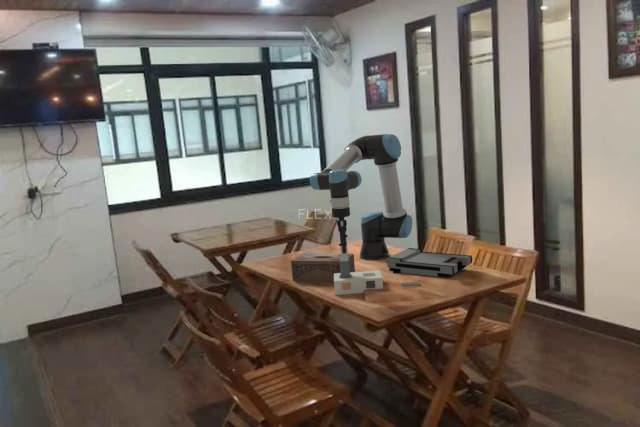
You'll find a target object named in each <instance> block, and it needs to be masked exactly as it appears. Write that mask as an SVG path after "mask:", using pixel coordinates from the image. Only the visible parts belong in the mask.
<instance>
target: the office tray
mask: <svg viewBox="0 0 640 427" xmlns="http://www.w3.org/2000/svg"><path fill="white" fill-rule="evenodd" d="M386 263H387V264H386V266H387V268H388V271H389V272H392V273H393V274H410V275H418V276H420V275H421V276H429V277H436V278H437V277H438V278H439V277H440V278H441V277H442V278H450V277H451V276H453V275H454V274H456V273H458V272H460V271H462V270H463V269H466V268H467V266H469V265H472V264H473V255H471V254H470V255H467V254H457V253H445V252H443V253H442V252H431V251H423V249H422V248H414V247H413V248H412V247H409V248H406V249H404V250H401V251H399V252H397V253H395V254H392V255H389V256H388V257H387V258H386Z"/></svg>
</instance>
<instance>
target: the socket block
mask: <svg viewBox="0 0 640 427" xmlns="http://www.w3.org/2000/svg"><path fill="white" fill-rule="evenodd" d="M383 282H384V281H383V275H382V272H381V270H380V269H379V270H365V271H355V272H350V278H341V273H335V274H334V282H333V286H334V295H335V296H340V295H355V294H356V295H357V294H365V290H379V289H381V290H382V289H384V285H383V284H384V283H383Z"/></svg>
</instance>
